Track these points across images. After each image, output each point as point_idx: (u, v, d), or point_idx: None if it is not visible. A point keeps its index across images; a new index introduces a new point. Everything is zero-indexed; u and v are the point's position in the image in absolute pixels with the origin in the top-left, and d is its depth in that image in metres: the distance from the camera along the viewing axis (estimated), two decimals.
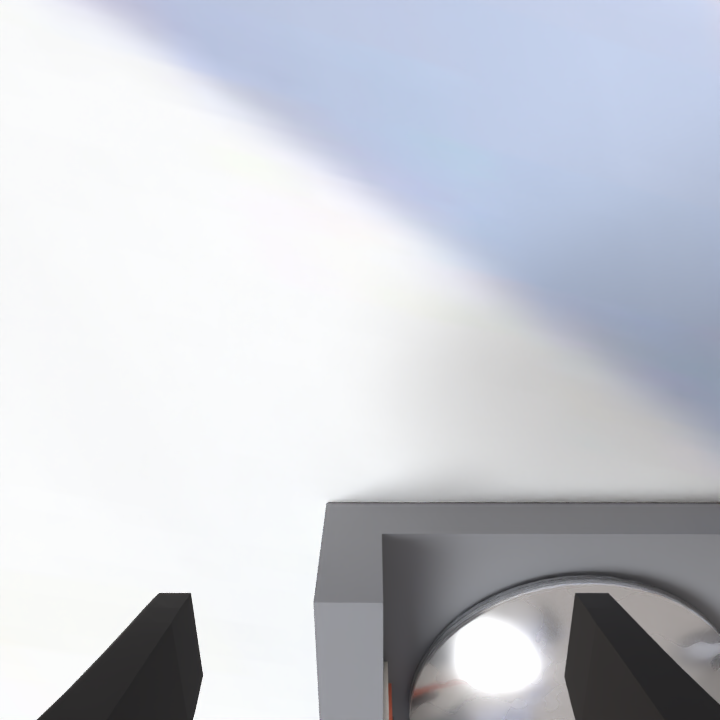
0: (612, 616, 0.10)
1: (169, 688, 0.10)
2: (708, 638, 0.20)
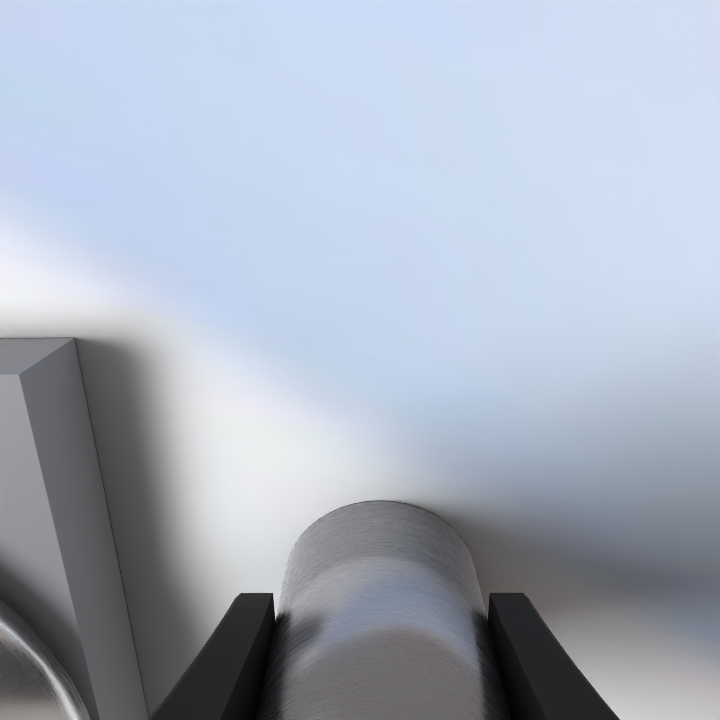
0: (519, 616, 0.10)
1: (260, 688, 0.10)
2: None
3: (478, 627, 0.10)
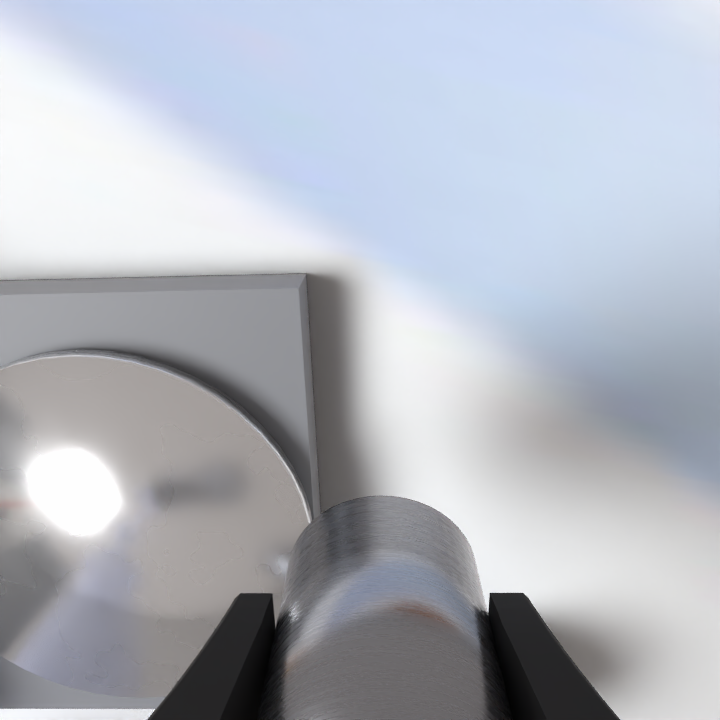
0: (519, 616, 0.10)
1: (259, 688, 0.10)
2: (234, 428, 0.16)
3: (478, 619, 0.10)
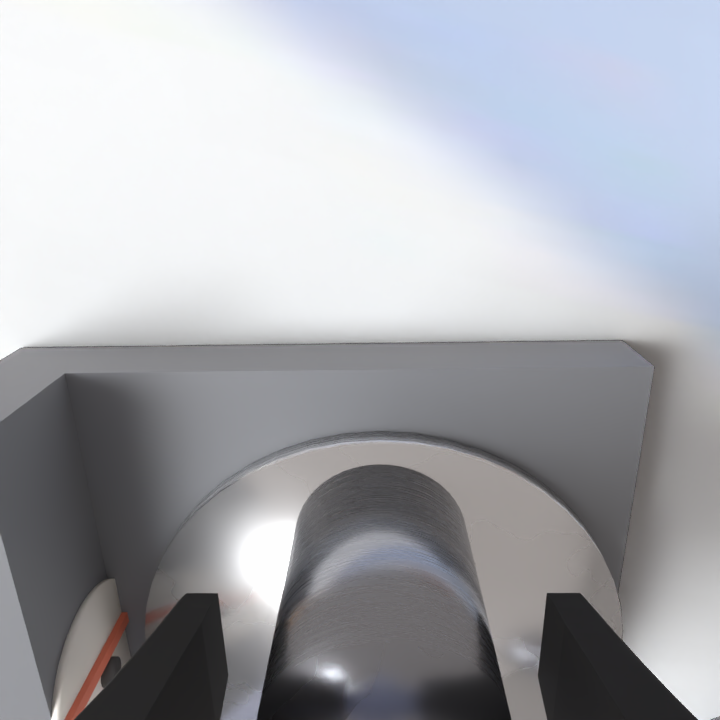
0: (581, 616, 0.10)
1: (199, 688, 0.10)
2: (559, 525, 0.14)
3: (464, 566, 0.11)
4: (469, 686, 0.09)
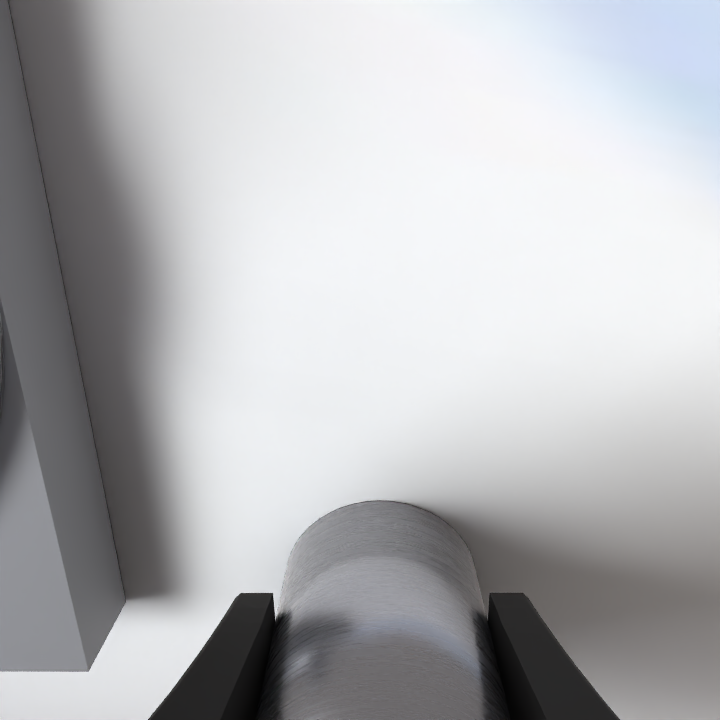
0: (519, 616, 0.10)
1: (260, 688, 0.10)
2: None
3: None
4: None
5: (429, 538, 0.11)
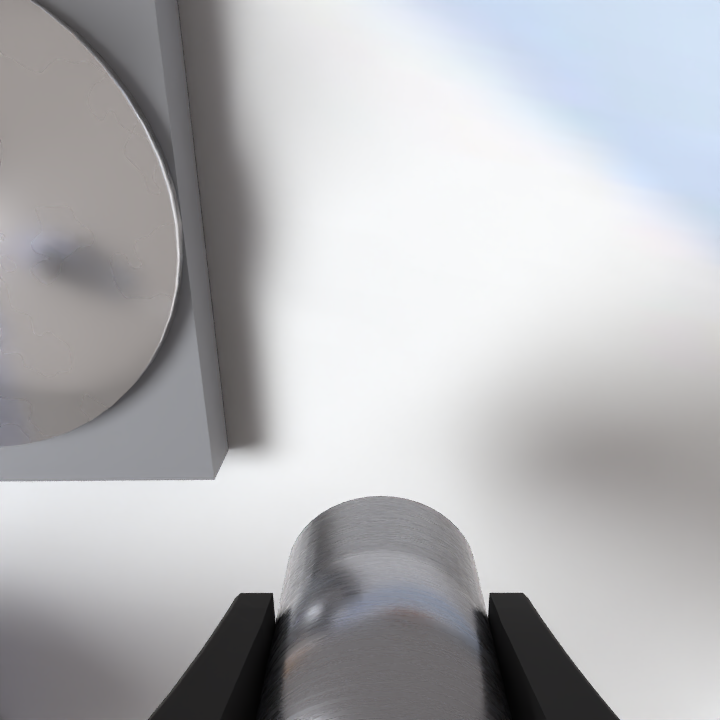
0: (519, 616, 0.10)
1: (260, 688, 0.10)
2: (68, 52, 0.13)
3: None
4: None
5: (429, 533, 0.11)
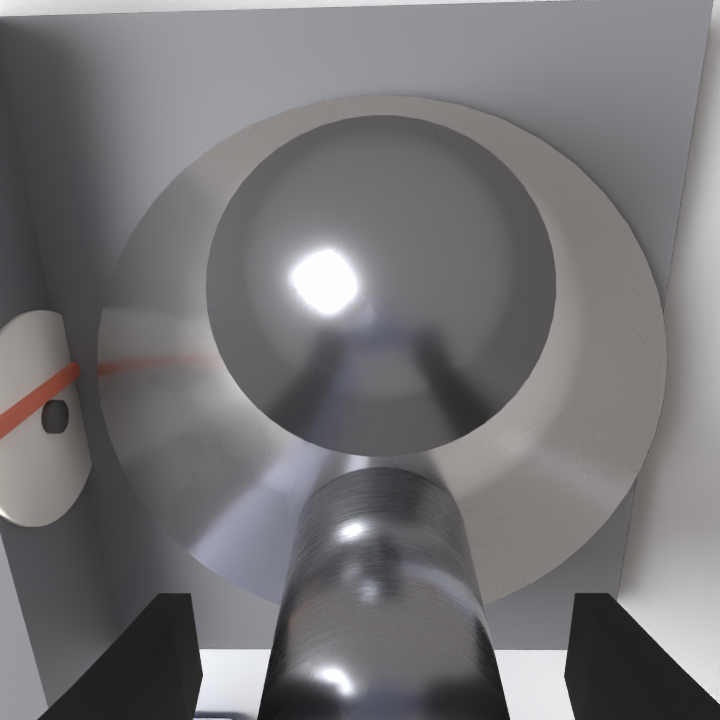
0: (612, 616, 0.10)
1: (169, 688, 0.10)
2: (594, 213, 0.11)
3: None
4: (496, 195, 0.06)
5: (416, 495, 0.12)
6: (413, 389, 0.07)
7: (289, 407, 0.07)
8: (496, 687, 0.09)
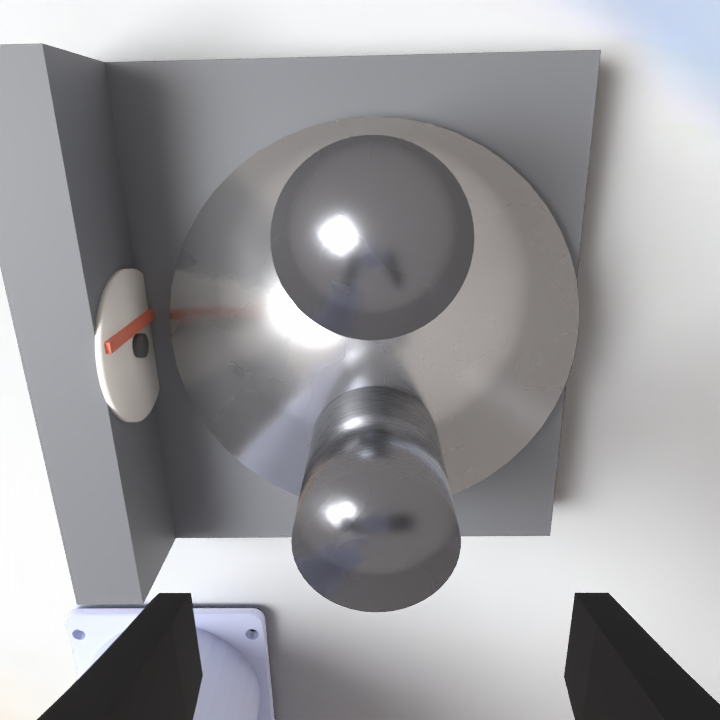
0: (612, 616, 0.10)
1: (169, 688, 0.10)
2: (523, 198, 0.16)
3: None
4: (437, 180, 0.11)
5: (400, 402, 0.17)
6: (392, 296, 0.12)
7: (317, 308, 0.12)
8: (449, 503, 0.14)
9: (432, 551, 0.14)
